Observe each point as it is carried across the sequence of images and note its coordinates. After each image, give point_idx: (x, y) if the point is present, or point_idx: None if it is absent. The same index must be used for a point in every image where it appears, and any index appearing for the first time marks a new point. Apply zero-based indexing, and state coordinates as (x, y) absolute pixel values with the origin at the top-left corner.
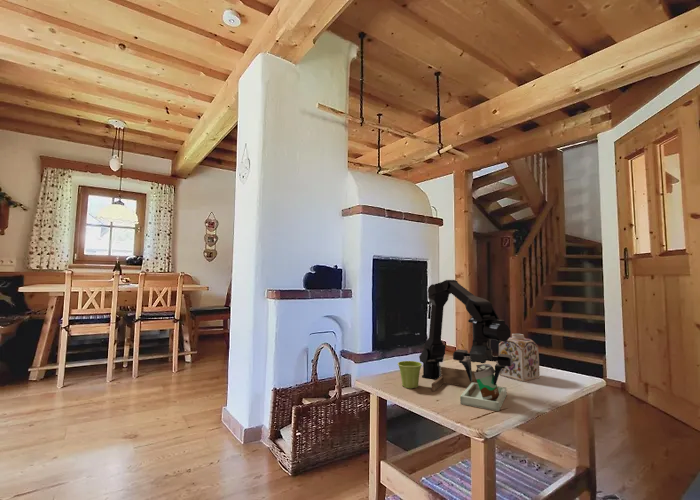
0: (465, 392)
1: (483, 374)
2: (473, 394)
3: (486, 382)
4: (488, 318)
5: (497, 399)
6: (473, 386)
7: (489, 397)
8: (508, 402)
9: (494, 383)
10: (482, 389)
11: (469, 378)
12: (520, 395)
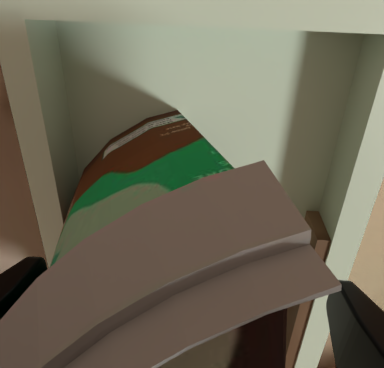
0: (367, 160)
1: (89, 295)
2: None
3: (102, 218)
4: None
5: (32, 94)
6: (292, 333)
7: (124, 139)
8: None
9: (29, 265)
10: (174, 147)
11: (371, 304)
12: None
